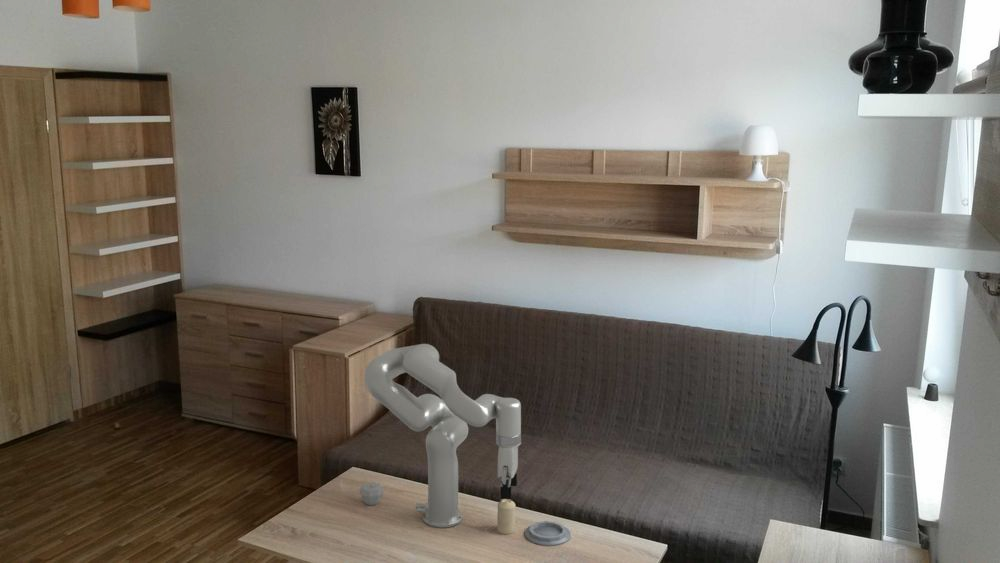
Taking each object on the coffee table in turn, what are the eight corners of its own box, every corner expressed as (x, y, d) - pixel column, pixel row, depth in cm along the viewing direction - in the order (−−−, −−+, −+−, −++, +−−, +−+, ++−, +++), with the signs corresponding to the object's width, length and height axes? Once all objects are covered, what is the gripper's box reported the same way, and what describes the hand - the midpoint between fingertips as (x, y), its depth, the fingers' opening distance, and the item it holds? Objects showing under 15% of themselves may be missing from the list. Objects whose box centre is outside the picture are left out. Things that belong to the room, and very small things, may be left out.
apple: (381, 508, 270) (381, 489, 269) (357, 508, 270) (357, 489, 269) (385, 498, 278) (385, 479, 277) (361, 497, 278) (361, 479, 277)
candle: (513, 535, 254) (513, 504, 252) (495, 533, 255) (496, 503, 253) (516, 527, 259) (517, 497, 257) (499, 525, 260) (499, 495, 258)
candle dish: (521, 543, 249) (521, 537, 249) (528, 522, 263) (528, 516, 262) (567, 548, 246) (568, 542, 246) (572, 526, 260) (572, 521, 260)
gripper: (501, 428, 261) (502, 480, 264) (490, 448, 244) (491, 503, 247) (525, 429, 259) (525, 481, 262) (515, 449, 243) (516, 504, 245)
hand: (508, 492), depth 254 cm, fingers open, 9 cm apart
